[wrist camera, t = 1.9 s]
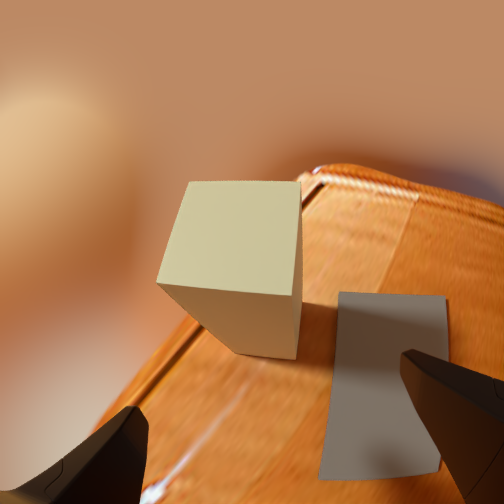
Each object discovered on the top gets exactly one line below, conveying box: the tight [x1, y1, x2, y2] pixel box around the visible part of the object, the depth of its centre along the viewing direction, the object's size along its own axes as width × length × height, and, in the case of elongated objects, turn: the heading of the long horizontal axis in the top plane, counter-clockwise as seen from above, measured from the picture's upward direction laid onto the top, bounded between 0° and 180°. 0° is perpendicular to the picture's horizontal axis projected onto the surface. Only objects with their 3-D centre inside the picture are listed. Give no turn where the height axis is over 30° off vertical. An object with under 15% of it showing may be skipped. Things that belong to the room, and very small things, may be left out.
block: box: [156, 181, 303, 360], centre depth 16 cm, size 4×4×13 cm
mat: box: [318, 292, 448, 480], centre depth 17 cm, size 14×9×1 cm, turn 172°
